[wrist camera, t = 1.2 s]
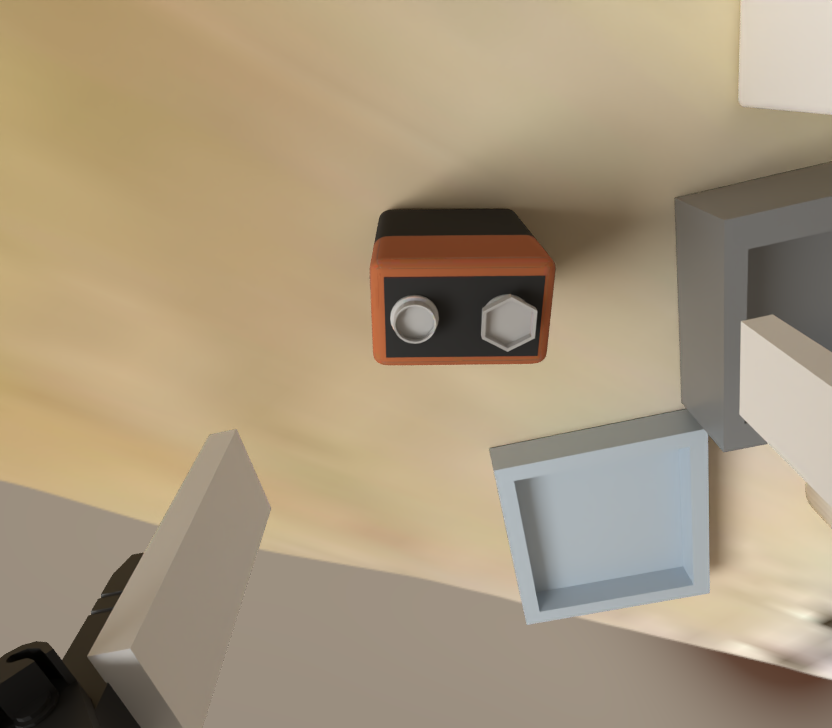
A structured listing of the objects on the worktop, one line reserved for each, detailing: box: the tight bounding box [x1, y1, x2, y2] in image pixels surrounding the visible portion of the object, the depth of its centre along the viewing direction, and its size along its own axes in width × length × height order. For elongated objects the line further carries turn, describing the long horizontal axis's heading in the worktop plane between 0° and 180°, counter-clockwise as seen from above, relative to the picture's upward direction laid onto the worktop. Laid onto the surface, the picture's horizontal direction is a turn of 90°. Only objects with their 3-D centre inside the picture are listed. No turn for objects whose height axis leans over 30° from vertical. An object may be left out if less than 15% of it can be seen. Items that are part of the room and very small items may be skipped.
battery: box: [370, 209, 555, 365], centre depth 25 cm, size 4×7×10 cm, turn 90°
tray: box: [489, 409, 710, 625], centre depth 36 cm, size 13×12×2 cm
